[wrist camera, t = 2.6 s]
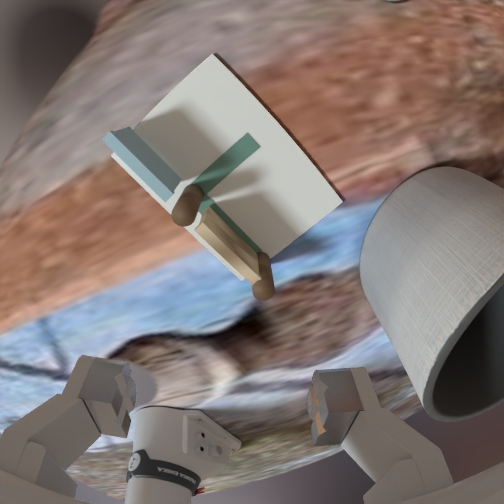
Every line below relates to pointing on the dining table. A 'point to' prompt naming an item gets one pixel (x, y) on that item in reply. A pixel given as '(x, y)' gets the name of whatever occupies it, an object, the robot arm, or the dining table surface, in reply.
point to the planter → (442, 287)
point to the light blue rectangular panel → (143, 161)
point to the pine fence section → (225, 242)
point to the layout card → (235, 161)
